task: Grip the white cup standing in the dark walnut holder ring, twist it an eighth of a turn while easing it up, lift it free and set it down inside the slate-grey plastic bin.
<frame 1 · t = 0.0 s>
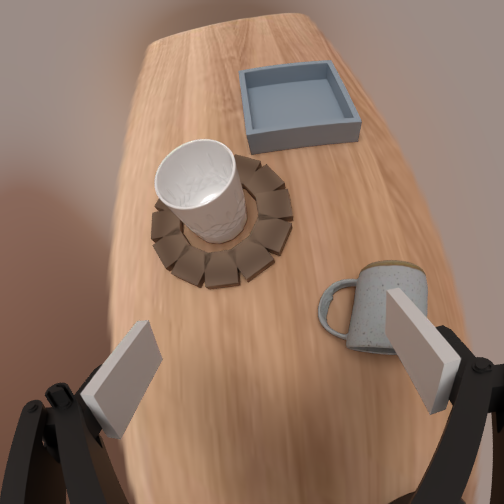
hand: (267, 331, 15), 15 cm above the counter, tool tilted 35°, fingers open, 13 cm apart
bin: (295, 110, 40), on the counter
ceramic mug: (367, 317, 29), on the counter
white cup: (220, 218, 35), resting in holder ring
holder ring: (219, 217, 35), on the counter
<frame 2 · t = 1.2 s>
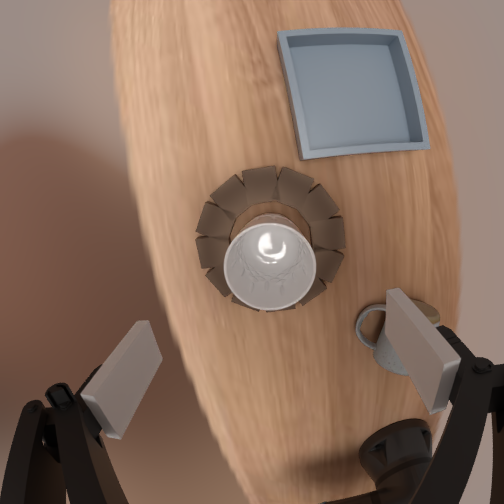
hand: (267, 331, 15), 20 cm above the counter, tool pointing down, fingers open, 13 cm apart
bin: (350, 94, 29), on the counter
ceramic mug: (389, 322, 37), on the counter
white cup: (270, 240, 35), resting in holder ring
holder ring: (270, 241, 35), on the counter
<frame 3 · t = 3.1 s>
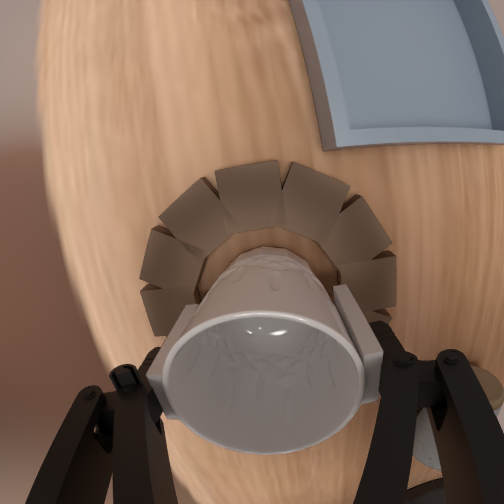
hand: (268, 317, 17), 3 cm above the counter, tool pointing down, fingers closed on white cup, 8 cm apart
bin: (402, 45, 14), on the counter
ceramic mug: (431, 393, 22), on the counter
white cup: (269, 293, 20), resting in holder ring, touching gripper
holder ring: (268, 294, 20), on the counter
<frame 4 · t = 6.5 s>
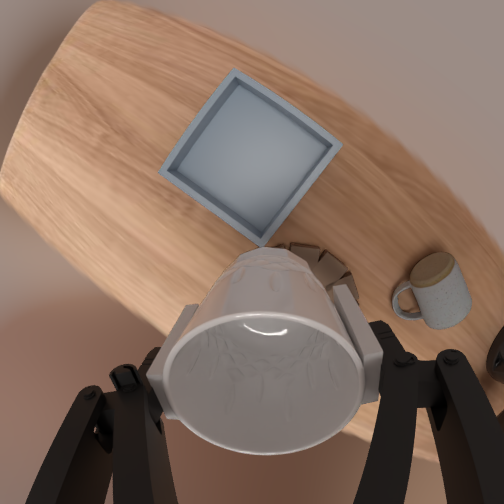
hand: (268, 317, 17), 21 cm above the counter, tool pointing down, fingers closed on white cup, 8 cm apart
bin: (250, 156, 34), on the counter
ceramic mug: (421, 286, 37), on the counter
white cup: (269, 293, 20), point 17 cm above the counter, touching gripper
holder ring: (294, 306, 39), on the counter
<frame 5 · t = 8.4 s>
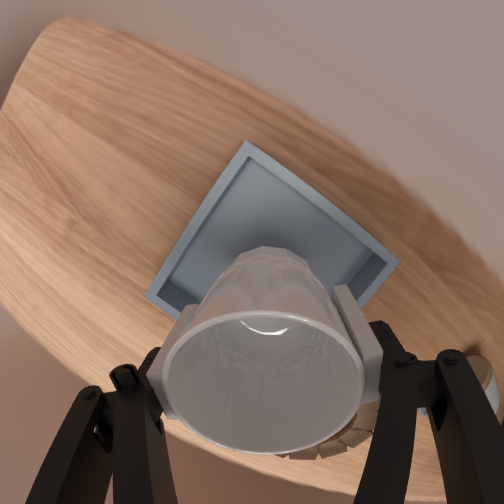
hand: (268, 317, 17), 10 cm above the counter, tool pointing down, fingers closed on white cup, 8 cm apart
bin: (270, 264, 26), on the counter
ceramic mug: (450, 382, 29), on the counter
white cup: (268, 292, 20), point 6 cm above the counter, touching gripper
holder ring: (316, 415, 31), on the counter
when the fingers open (5 cm above the counter, at t = 9.8 s): white cup drops 1 cm, resting on bin.
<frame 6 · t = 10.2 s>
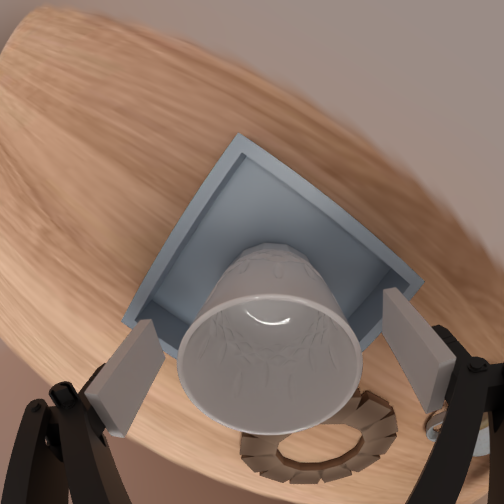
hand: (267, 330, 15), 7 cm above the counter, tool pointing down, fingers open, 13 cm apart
bin: (269, 283, 22), on the counter
ceramic mug: (460, 404, 25), on the counter
white cup: (271, 286, 21), resting on bin
holder ring: (319, 442, 27), on the counter
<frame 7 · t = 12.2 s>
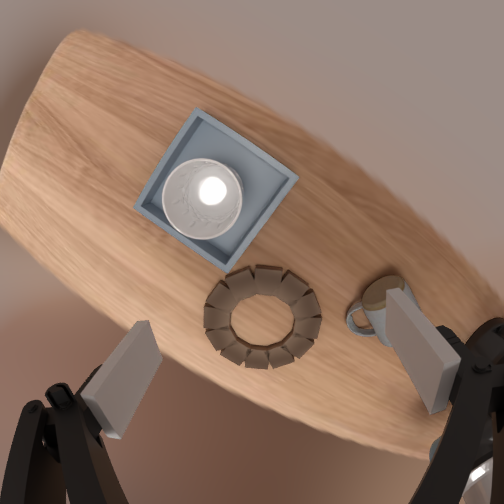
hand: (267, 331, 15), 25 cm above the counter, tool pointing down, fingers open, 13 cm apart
bin: (216, 188, 38), on the counter
ceramic mug: (377, 304, 42), on the counter
white cup: (217, 189, 37), resting on bin
holder ring: (262, 320, 43), on the counter
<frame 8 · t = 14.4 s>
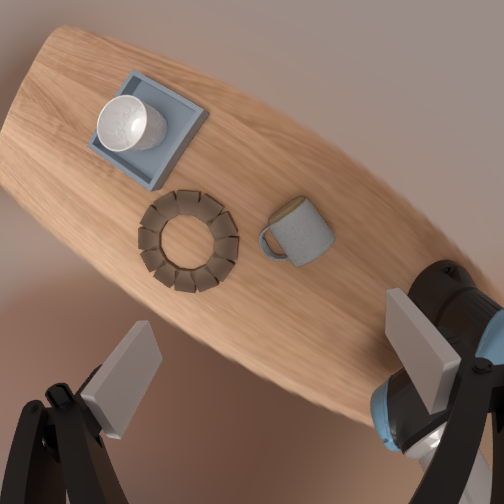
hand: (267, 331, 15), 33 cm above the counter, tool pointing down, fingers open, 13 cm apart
bin: (149, 129, 43), on the counter
ceramic mug: (292, 231, 47), on the counter
white cup: (149, 129, 43), resting on bin
holder ring: (187, 242, 48), on the counter
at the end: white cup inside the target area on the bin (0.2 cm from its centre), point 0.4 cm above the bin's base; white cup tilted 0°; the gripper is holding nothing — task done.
